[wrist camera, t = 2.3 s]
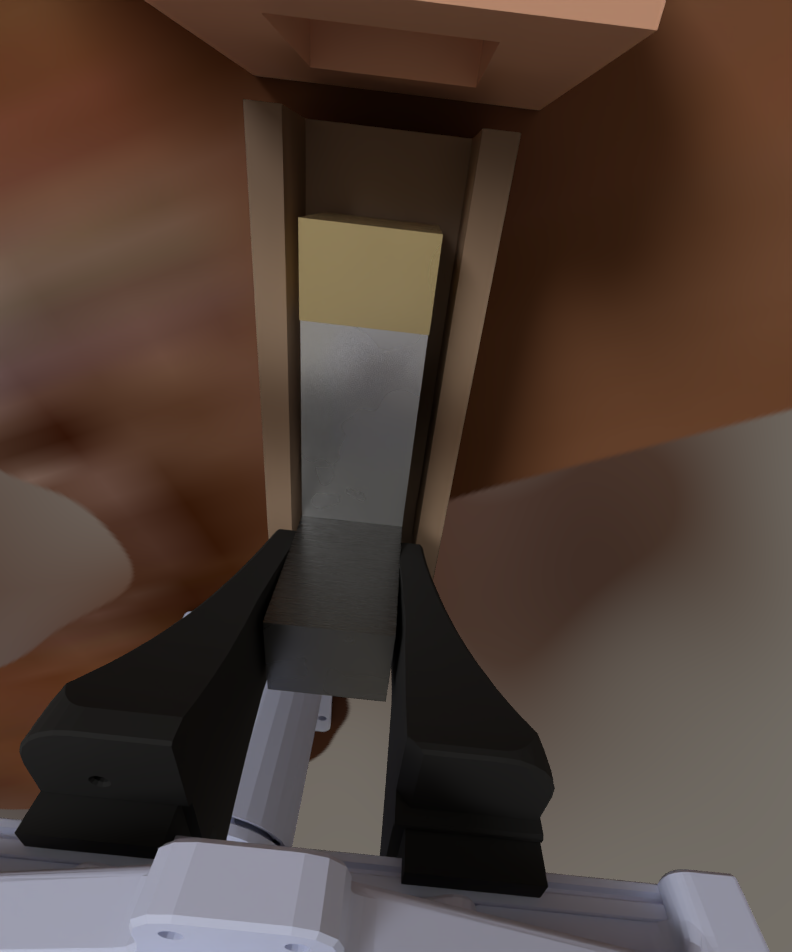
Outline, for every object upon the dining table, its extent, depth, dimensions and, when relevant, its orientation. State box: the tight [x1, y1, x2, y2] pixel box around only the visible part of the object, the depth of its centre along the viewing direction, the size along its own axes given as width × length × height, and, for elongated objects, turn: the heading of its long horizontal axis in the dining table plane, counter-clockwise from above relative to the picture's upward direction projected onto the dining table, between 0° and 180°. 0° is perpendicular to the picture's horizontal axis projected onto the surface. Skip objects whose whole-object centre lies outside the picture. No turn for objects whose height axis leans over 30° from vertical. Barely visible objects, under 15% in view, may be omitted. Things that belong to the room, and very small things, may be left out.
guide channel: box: [243, 99, 521, 580], centre depth 15 cm, size 15×6×4 cm, turn 174°
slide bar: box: [263, 212, 443, 701], centre depth 13 cm, size 14×3×7 cm, turn 174°
